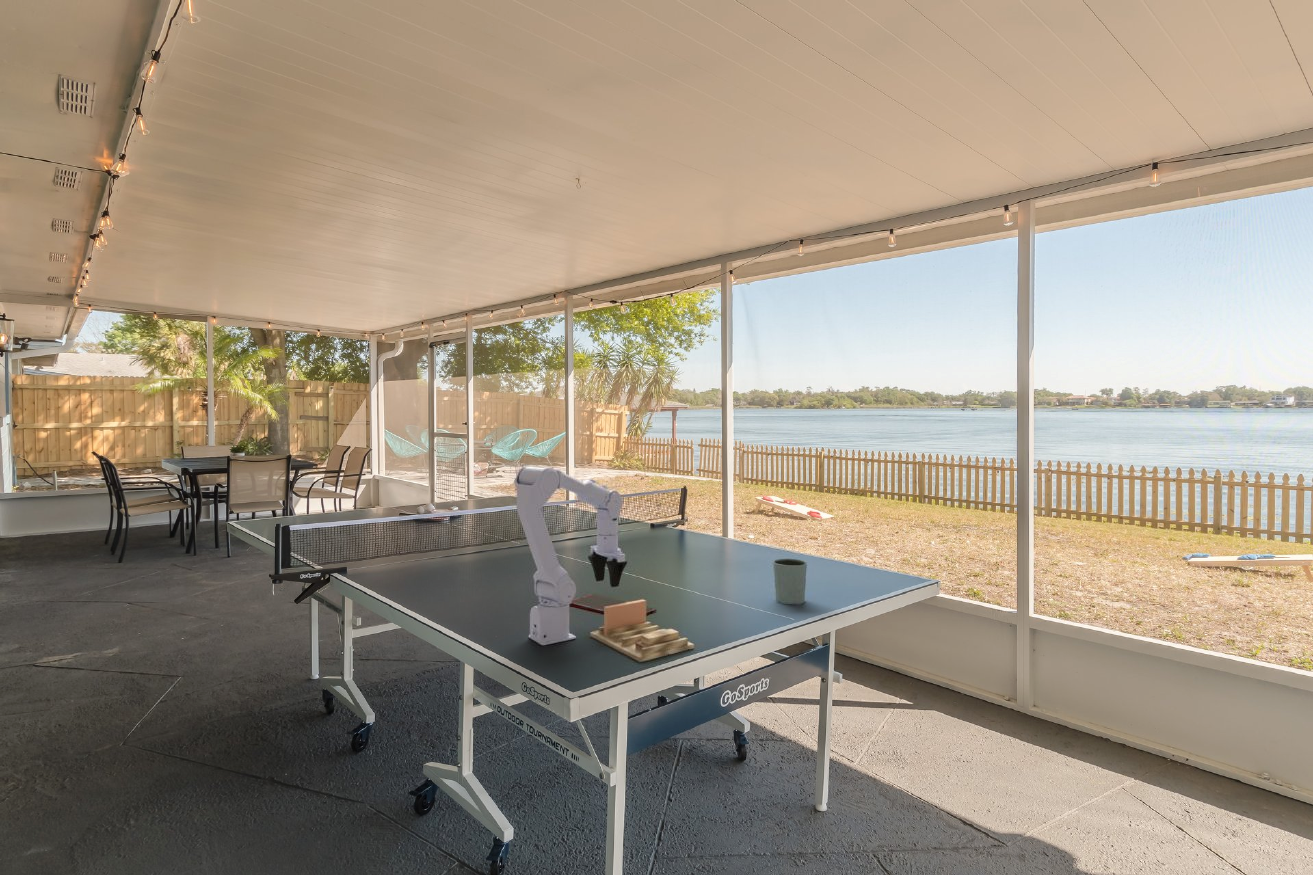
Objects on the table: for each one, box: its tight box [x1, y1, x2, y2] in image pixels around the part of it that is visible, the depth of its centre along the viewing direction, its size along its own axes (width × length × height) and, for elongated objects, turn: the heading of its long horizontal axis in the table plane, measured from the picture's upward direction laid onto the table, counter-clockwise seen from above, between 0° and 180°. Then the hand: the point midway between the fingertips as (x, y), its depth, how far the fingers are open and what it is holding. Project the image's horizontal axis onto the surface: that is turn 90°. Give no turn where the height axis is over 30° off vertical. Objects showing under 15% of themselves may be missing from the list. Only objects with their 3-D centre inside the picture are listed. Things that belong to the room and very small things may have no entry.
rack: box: [589, 621, 695, 663], centre depth 170 cm, size 16×22×2 cm
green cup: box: [772, 558, 808, 605], centre depth 208 cm, size 10×10×12 cm
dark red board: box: [569, 593, 657, 616], centre depth 199 cm, size 12×2×25 cm
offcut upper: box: [641, 628, 680, 645], centre depth 164 cm, size 9×3×2 cm, turn 126°
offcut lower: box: [635, 636, 682, 651], centre depth 164 cm, size 11×4×2 cm, turn 126°
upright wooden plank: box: [603, 598, 647, 635], centre depth 175 cm, size 12×2×7 cm, turn 126°
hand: (607, 583), depth 186 cm, fingers open, 7 cm apart
